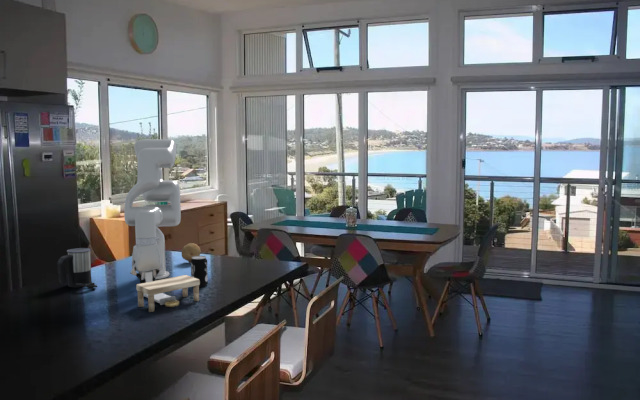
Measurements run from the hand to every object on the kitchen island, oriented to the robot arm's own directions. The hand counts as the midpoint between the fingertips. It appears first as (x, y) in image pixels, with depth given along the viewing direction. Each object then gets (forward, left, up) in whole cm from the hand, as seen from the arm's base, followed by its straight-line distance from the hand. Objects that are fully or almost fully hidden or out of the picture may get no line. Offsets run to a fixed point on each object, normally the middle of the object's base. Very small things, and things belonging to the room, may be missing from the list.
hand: (147, 287), depth 209 cm
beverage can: (+3, +21, -3) cm, 22 cm away
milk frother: (-28, -14, -3) cm, 32 cm away
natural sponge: (-35, +40, -3) cm, 53 cm away
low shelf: (+16, 0, -3) cm, 16 cm away
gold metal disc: (+19, 0, -3) cm, 19 cm away
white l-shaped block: (+7, 0, -3) cm, 8 cm away
